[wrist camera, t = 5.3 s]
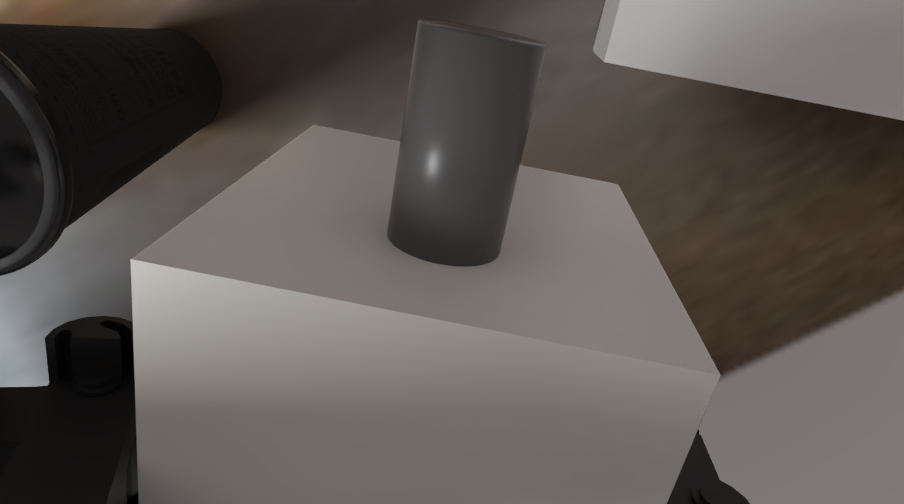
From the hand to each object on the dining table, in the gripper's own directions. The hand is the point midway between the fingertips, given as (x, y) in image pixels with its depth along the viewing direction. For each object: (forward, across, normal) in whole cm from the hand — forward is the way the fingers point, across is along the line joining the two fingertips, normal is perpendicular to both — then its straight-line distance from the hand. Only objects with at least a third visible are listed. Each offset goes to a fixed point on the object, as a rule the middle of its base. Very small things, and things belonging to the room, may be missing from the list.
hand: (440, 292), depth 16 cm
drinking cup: (+16, +15, 0) cm, 21 cm away
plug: (+3, 0, -1) cm, 3 cm away
